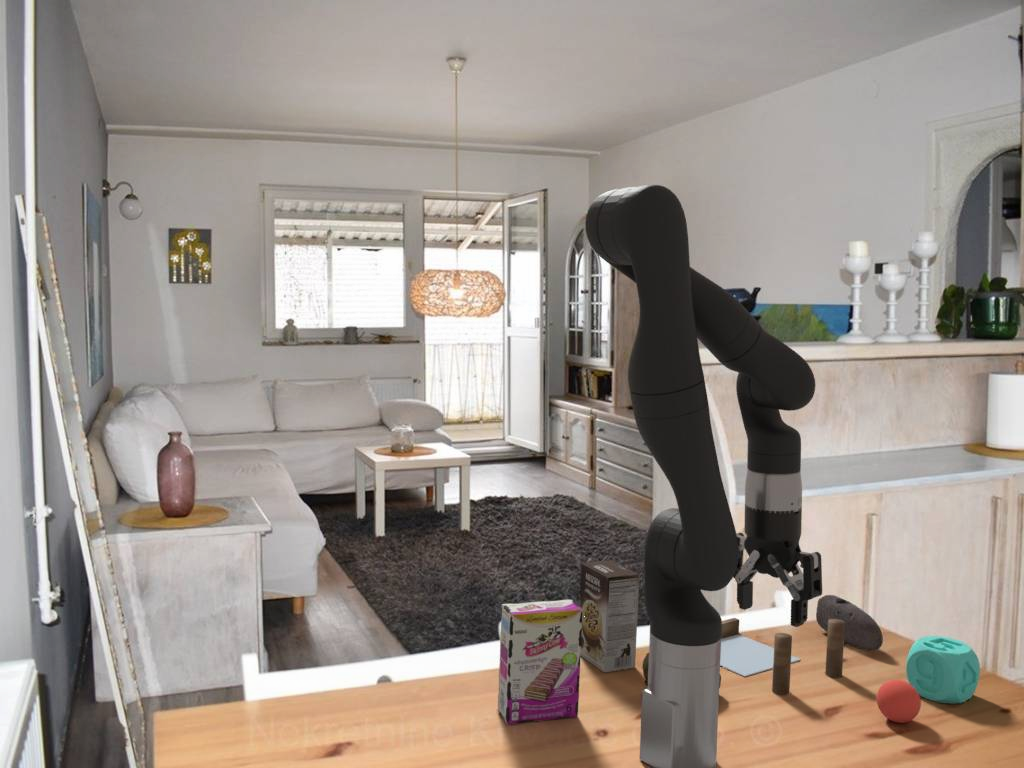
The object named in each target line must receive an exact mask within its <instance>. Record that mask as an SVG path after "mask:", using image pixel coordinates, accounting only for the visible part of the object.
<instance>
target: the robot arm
mask: <svg viewBox="0 0 1024 768" xmlns="http://www.w3.org/2000/svg"><path fill="white" fill-rule="evenodd" d="M584 222H585V223H584V225H585V235H586V238H587V240H588V243H589V245H590V246H591V248H592V249H593V251H594V252H595V253H596V254H597V256H599V257H600V258H601V259H603V261H605V262H606V263H608V264H609V265H610V266H612V267H613V268H614V269H616V270H617V271H619V272H620V273H621V274H623V275H624V276H626V277H627V278H629V279H630V280H631V281H632V282H634V283H635V284H636V289H637V290H636V292H637V295H638V296H637V297H638V302H639V318H638V327H637V330H636V333H635V337H634V340H633V344H632V348H631V351H630V356H629V362H628V368H627V382H628V389H629V390H628V391H629V395H630V396H629V397H630V400H631V406H632V412H633V416H634V420H635V424H636V427H637V430H638V432H639V434H640V436H641V438H642V440H643V442H644V444H645V445H646V447H647V449H648V450H649V452H650V453H651V455H652V457H653V458H654V460H655V461H656V463H657V465H658V466H659V468H660V470H661V471H662V472H663V474H664V476H665V478H666V479H667V480H668V482H669V484H670V487H671V489H672V491H673V494H674V496H675V499H676V500H675V501H676V503H677V508H674V507H672V508H667V509H664V510H663V511H661V512H659V513H658V514H657V515H656V516H655V517H654V519H653V520H652V521H651V524H650V525H649V527H648V530H647V533H646V537H645V542H644V551H643V552H644V553H643V577H644V578H643V579H644V581H643V582H644V606H645V611H646V613H647V616H648V619H649V643H648V645H649V649H648V653H649V668H648V686H647V688H645V689H643V690H642V691H641V709H640V710H641V711H640V712H641V713H640V732H639V733H640V735H639V736H640V738H639V739H640V740H639V759H640V760H641V761H643V763H645V764H647V765H649V766H650V767H652V768H716V766H717V755H718V754H717V752H718V751H717V748H718V723H719V722H718V720H719V705H720V704H719V703H720V702H719V701H720V700H719V699H720V698H719V697H720V688H719V679H720V675H721V672H720V671H721V666H720V656H721V639H722V637H721V635H722V621H723V619H722V616H721V615H720V613H719V611H718V610H717V609H716V608H714V606H713V605H711V603H710V602H709V601H708V599H707V598H706V596H705V595H704V593H703V591H707V592H716V591H720V590H722V589H724V588H725V587H726V586H728V585H729V583H730V582H731V581H732V580H733V579H734V580H735V582H736V601H737V602H736V603H737V604H738V608H739V609H741V610H744V611H746V610H749V609H751V608H752V607H753V603H754V602H753V601H754V600H753V598H754V596H753V595H754V582H753V581H751V580H752V579H753V578H754V576H755V575H756V574H757V573H758V574H762V575H769V576H770V577H772V578H776V579H778V578H779V581H780V582H781V583H782V585H783V586H784V587H786V588H787V590H788V591H789V594H790V596H791V597H792V599H790V625H791V626H792V627H795V628H798V627H800V626H802V625H804V624H805V623H806V622H807V620H808V610H809V609H808V608H809V607H808V606H809V603H808V602H809V601H810V600H813V599H815V598H817V597H820V596H822V595H823V576H822V575H823V571H822V569H823V568H822V555H821V554H822V553H820V552H818V551H814V552H806V551H802V549H801V547H800V539H801V536H802V524H803V523H802V518H803V517H802V511H803V510H802V509H803V482H802V474H801V469H802V468H801V467H802V463H801V462H802V460H801V459H802V438H801V434H800V432H799V431H798V430H797V429H796V428H794V427H792V426H791V425H788V424H787V423H786V422H784V421H783V419H782V416H781V412H780V410H781V411H789V412H790V411H798V410H801V409H803V408H805V407H806V406H807V405H809V403H810V402H811V401H812V400H813V398H814V395H815V393H816V392H815V391H816V379H815V375H814V371H813V370H812V367H810V365H809V363H808V361H806V360H805V359H804V358H803V357H802V356H801V355H800V354H799V353H797V352H796V351H795V350H794V349H793V348H792V347H789V346H788V345H787V344H785V343H784V342H783V341H781V340H780V339H779V338H777V337H775V336H774V335H772V334H770V333H769V332H767V331H766V330H765V329H764V328H763V327H762V326H761V324H760V323H759V321H757V319H756V318H755V317H754V316H753V315H752V314H751V313H750V312H749V310H748V309H747V308H746V307H745V306H744V305H743V304H742V303H741V302H740V301H739V300H738V298H736V297H735V296H733V294H731V293H730V292H729V291H728V290H727V289H725V288H723V287H722V286H721V285H719V284H717V283H716V282H714V281H713V280H711V279H710V278H708V277H706V276H705V275H703V274H701V273H700V272H698V271H697V270H696V269H695V268H693V267H691V266H690V262H691V261H690V246H689V234H688V225H687V224H688V223H687V219H686V214H685V211H684V208H683V206H682V203H681V201H680V200H679V198H678V197H677V195H676V193H674V192H673V191H672V190H671V189H669V188H668V187H666V186H663V185H661V184H660V185H659V184H645V185H638V186H637V185H636V186H630V187H621V188H615V189H612V190H611V189H610V190H608V191H606V192H603V193H602V194H600V195H599V196H597V197H596V198H595V199H594V200H593V201H592V202H591V204H590V206H589V207H588V210H587V212H586V216H585V221H584ZM698 340H699V341H698ZM699 342H701V344H702V345H703V346H704V347H705V348H706V349H707V350H708V351H709V353H711V354H712V356H713V357H714V358H716V359H717V361H718V362H719V363H720V364H721V365H723V366H724V367H725V368H726V369H728V370H730V371H733V372H736V373H737V378H736V382H735V383H736V384H735V385H736V386H735V387H736V389H735V391H736V397H737V402H738V407H739V411H740V415H741V419H742V423H743V427H744V430H745V434H746V438H747V457H746V458H747V462H746V463H747V464H746V465H747V469H746V476H745V485H744V528H743V529H744V530H743V531H744V533H745V535H746V536H745V535H744V533H742V532H737V531H736V527H735V523H734V519H733V516H732V512H731V508H730V505H729V502H728V498H727V494H726V491H725V487H724V483H723V480H722V474H721V470H720V465H719V459H718V454H717V449H716V443H715V438H714V435H713V429H712V421H711V413H710V406H709V405H710V404H709V399H708V393H707V386H706V381H705V374H704V370H703V366H702V361H701V360H702V359H701V355H700V349H699ZM744 550H745V551H746V553H747V555H748V558H747V559H746V561H744ZM799 562H800V564H799ZM801 568H802V569H801ZM802 570H803V571H802ZM790 573H791V574H792V576H790V575H789V574H790Z"/></svg>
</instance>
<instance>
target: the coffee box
mask: <svg viewBox="0 0 1024 768" xmlns="http://www.w3.org/2000/svg"><path fill="white" fill-rule="evenodd" d="M579 588H580V589H579V590H580V593H579V595H580V597H579V607H580V608H581V609H582V610H583V611H582V633H581V655H580V657H582V658H584V659H585V660H587V661H588V662H589V663H590V664H592V665H593V666H595V667H596V668H597V669H598V670H600V671H601V670H602V671H601V672H603V673H611V671H612V672H617V671H616V670H618V671H622V670H621V669H624V670H629V668H630V669H635V668H636V659H637V658H636V656H637V655H636V653H637V650H636V649H637V634H638V633H637V630H638V611H639V609H638V608H639V591H640V590H639V589H640V573H637V572H635V571H633V570H631V569H629V568H627V567H626V566H623V565H622V564H619V563H618V562H615V561H614V560H613V559H610V560H595V561H587V562H582V563H580V586H579ZM584 616H585V617H584ZM634 667H635V668H634Z"/></svg>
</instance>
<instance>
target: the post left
mask: <svg viewBox="0 0 1024 768" xmlns="http://www.w3.org/2000/svg"><path fill="white" fill-rule="evenodd" d="M773 645H774V646H773V648H774V662H773V669H772V683H771V684H772V686H771V691H772V693H773V694H775V695H779V696H787V695H790V686H791V684H790V683H791V665H792V663H791V655H792V648H793V647H792V645H793V636H792V635H791V634H788V633H785V632H777V633H774V644H773Z"/></svg>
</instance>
